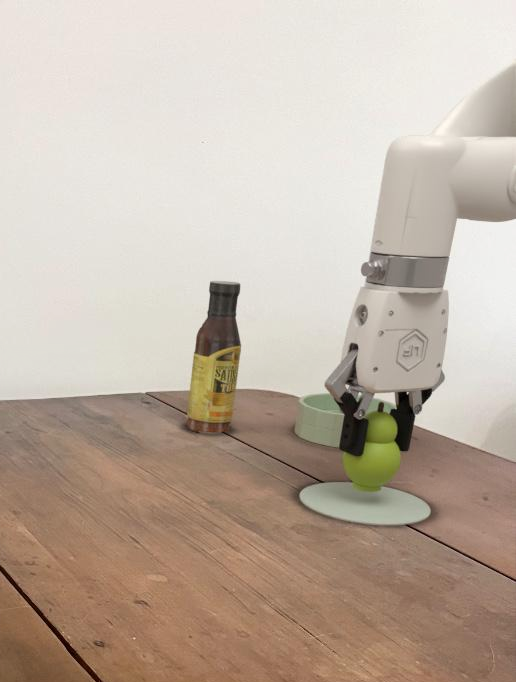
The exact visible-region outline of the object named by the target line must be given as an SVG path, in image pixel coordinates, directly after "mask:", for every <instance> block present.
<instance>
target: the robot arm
mask: <svg viewBox="0 0 516 682" xmlns="http://www.w3.org/2000/svg"><path fill="white" fill-rule="evenodd" d="M385 154H386V155H385V160H384V165H383V170H382V177H381V181H380V187H379V195H378V200H377V207H376V213H375V219H374V226H373V231H372V237H371V242H370V243H371V244H370V245H371V246H370V249H369V256H368V261H365V262H363V263H362V265H361V268H360V273H361V275H362V277H365V281H364V286H361V287H360V288H359V290H358V293H357V295H356V298H355V302H354V304H353V308H352V310H351V313H350V317H349V320H348V325H347V328H346V333H345V337H344V341H343V347H342V352H341V357H340V363H339V364H338V365H337V367H335V369H334V370H333V371H332V372H331V374H330V375H329V376H328V377H327V379H326V380H325V382H324V387H325V389H326V390H327V392H328V393H330V394H331V395H332V396H333V397H334V400H335V401H336V403H337V404H338V406H339V407H340V412H341V413H342V414H344V420H343V426H342V432H341V438H340V444H339V448H338V449H339V450H340V451H342V452H343V453H344V452H346V453H349V454H351V455H354V456H356V457H357V456H362V454H363V452H364V446H365V441H366V435H367V430H368V424H369V421H368V419H366V418H364V417H365V415H366V412H367V410H368V408H369V406H370V403H371V401H372V399H373V398H375V397H374V396H375V394H389V393H394V402H395V403H394V404H395V405H396V408H397V409H391V412H390V415H391V416H392V417H393V418H394V419H395V421H396V424H397V435H396V438H395V440H394V441H395V442H396V444H397V445H398V447H399V450H400V452H401V453H404V452H408V451H409V450H410V446H411V441H412V435H413V432H414V431H413V430H414V425H415V421H416V415H417V416H418V415H420V414H421V413H422V412H423V411H422V410H423V405H424V404H425V403H426V402H427V401H428V400H429V399H430V398H431V396H432V395H433V392H435V390H437V389H438V388H439V387H440V386H441V385H442V384H443V383H444V382H445V379H446V376H445V373H444V372H443V369H442V368H443V364H444V358H445V352H446V344H447V337H448V330H449V329H448V328H449V313H450V305H449V304H450V301H449V290H448V289H445V288H444V286H445V282H446V278H447V277H446V276H447V272H448V267H449V261H450V256H451V251H452V246H453V240H454V236H455V232H456V226H457V220H458V219H460V220H469V221H474V222H475V221H476V222H485V223H505V222H509V221H513V220H516V59H515V60H513V61H512V62H510V63H508V64H507V65H506V66H504V67H503V68H502V69H500V70H499V71H497V72H495V73H494V74H493V75H491V76H490V77H488V78H487V79H486V80H484V81H483V82H481V83H480V84H479V85H477V86H475V88H474V89H472V90H471V91H470V92H469V93H468V94H466V96H464V97H463V98H462V99H461V100H460V101H458V103H457V104H456V105H455V106H454V107H453V108H452V109H451V110H450V111H449V112H448V113H447V114H446V116H445V117H444V118H443V119H442V120H441V121H440V122H439V124H438V125H437V126H436V127H435V128H434V130H433V131H432V132H431V133H430V134H415V135H414V134H411V135H410V134H409V135H403V136H399V137H396V138H395V139H393V141H392V142H391V143H390V144H389V146H388V148H387V150H386V153H385ZM358 395H361V396H360V399H359V401H358V402H357V401H356V398H357V396H358Z"/></svg>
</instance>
